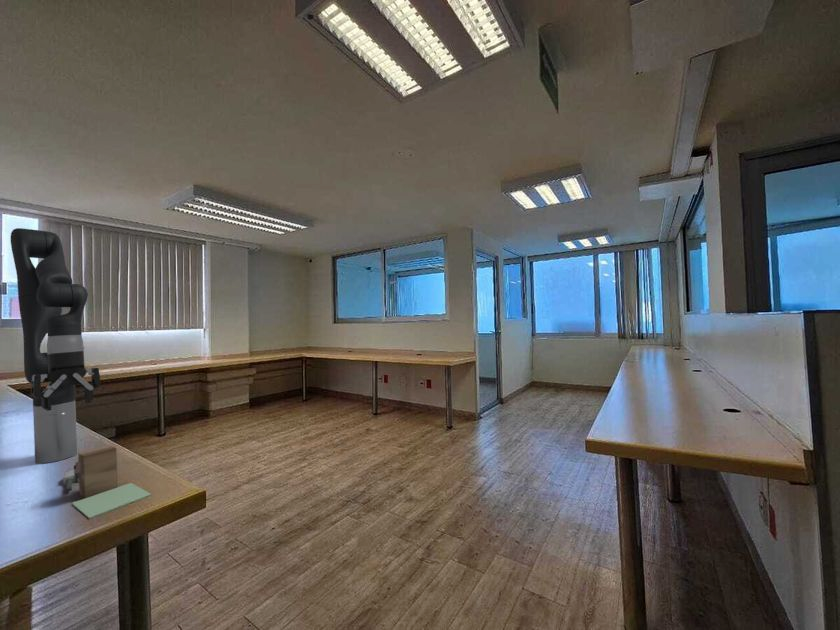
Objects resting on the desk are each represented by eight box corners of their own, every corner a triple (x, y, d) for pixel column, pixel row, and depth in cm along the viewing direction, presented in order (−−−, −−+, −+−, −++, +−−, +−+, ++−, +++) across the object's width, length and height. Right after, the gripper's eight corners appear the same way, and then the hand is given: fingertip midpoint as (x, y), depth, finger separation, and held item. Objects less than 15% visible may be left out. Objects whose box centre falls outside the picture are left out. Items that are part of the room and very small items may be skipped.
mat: (72, 504, 80) (72, 503, 80) (131, 483, 90) (131, 482, 90) (89, 518, 74) (89, 517, 74) (151, 495, 83) (151, 494, 83)
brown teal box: (79, 493, 85) (77, 452, 85) (110, 483, 90) (109, 444, 90) (85, 498, 83) (84, 456, 83) (117, 487, 88) (116, 447, 88)
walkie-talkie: (65, 473, 99) (62, 497, 85) (64, 457, 99) (62, 479, 85) (106, 463, 105) (111, 484, 91) (106, 448, 105) (110, 467, 91)
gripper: (92, 349, 111) (94, 400, 110) (26, 354, 98) (28, 412, 98) (102, 348, 107) (105, 401, 107) (35, 353, 95) (38, 413, 94)
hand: (68, 406), depth 102 cm, fingers open, 8 cm apart
